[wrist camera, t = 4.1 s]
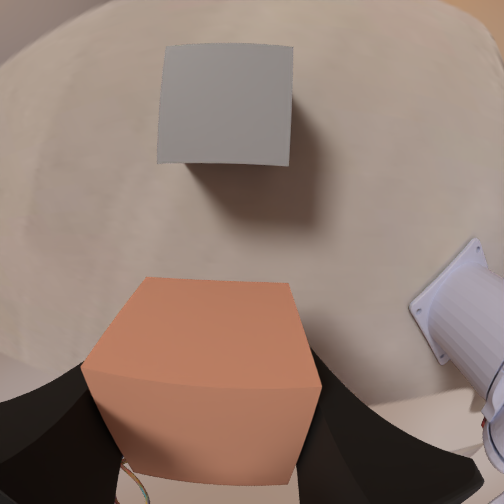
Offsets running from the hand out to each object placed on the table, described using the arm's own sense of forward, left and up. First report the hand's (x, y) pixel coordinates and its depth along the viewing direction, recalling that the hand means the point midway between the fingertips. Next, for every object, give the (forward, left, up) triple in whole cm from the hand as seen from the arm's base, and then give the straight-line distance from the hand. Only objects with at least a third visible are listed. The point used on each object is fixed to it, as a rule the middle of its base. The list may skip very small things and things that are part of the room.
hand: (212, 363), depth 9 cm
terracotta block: (0, 0, -1) cm, 1 cm away
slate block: (+6, -6, -8) cm, 12 cm away
